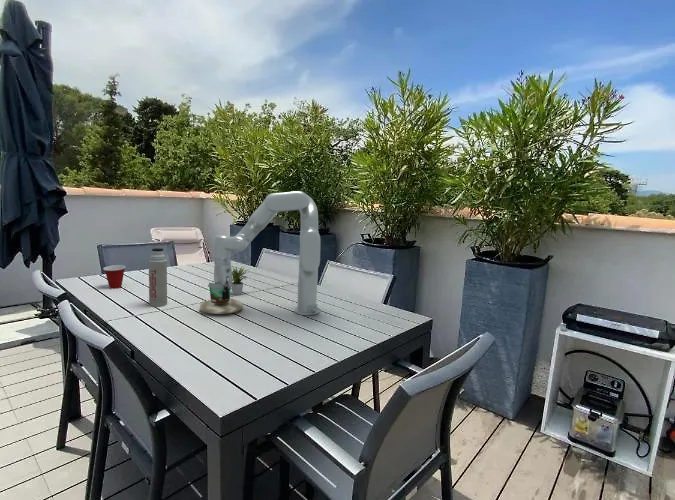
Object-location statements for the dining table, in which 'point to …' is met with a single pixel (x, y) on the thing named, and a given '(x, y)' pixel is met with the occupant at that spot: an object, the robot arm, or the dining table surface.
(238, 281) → the house plant
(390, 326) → the dining table surface
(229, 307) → the turntable
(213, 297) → the food container
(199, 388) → the dining table surface
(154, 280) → the thermos bottle
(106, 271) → the plastic cup
